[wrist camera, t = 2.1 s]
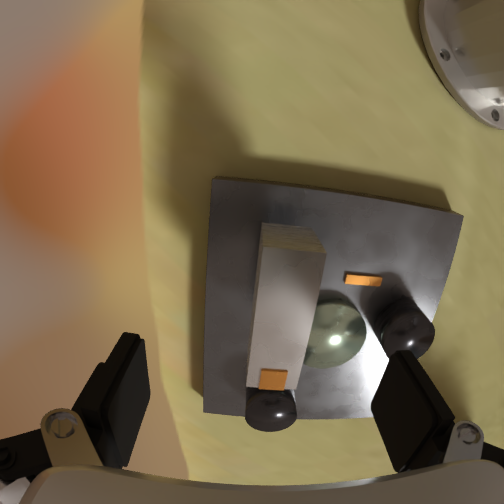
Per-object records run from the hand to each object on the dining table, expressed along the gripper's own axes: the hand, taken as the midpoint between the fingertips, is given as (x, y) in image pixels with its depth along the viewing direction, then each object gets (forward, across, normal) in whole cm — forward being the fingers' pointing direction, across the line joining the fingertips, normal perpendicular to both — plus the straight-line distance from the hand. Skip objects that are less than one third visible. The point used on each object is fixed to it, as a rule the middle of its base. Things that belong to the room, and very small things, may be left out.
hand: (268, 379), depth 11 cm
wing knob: (+8, -1, -1) cm, 8 cm away
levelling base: (+10, -5, +3) cm, 11 cm away
